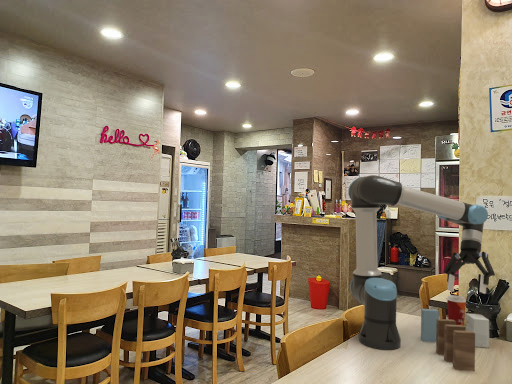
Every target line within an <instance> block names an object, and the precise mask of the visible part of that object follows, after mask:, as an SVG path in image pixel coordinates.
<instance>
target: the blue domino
mask: <svg viewBox="0 0 512 384" xmlns="http://www.w3.org/2000/svg"><path fill="white" fill-rule="evenodd" d="M420 313H421V314H420V315H421V318H420V321H421V322H420V325H421V326H420V340H421V341H422V342H427V343H428V342H429V343H430V342H432V343H436V319H440V310H438V309H436V308H435V309H433V308H432V309H431V308H421V312H420Z"/></svg>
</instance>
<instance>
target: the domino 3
mask: <svg viewBox="0 0 512 384" xmlns="http://www.w3.org/2000/svg"><path fill="white" fill-rule="evenodd" d="M475 367H476V347H475V333H474V332H472V331H466V330H465V331H456V330H453V362H452V368H453V369H454V370H456V371H471V372H473V371H474V372H475V370H476V369H475Z"/></svg>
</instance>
